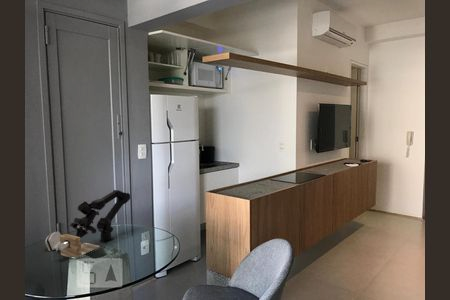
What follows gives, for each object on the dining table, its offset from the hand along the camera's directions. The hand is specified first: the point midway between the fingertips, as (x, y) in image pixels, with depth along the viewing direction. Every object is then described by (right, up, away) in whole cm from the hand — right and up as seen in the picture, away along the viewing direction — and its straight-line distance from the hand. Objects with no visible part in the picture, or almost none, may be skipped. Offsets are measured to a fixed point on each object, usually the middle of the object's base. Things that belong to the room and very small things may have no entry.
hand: (76, 240), depth 210 cm
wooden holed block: (-3, -3, -5) cm, 6 cm away
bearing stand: (+2, -8, +4) cm, 9 cm away
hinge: (-20, -8, +14) cm, 25 cm away
